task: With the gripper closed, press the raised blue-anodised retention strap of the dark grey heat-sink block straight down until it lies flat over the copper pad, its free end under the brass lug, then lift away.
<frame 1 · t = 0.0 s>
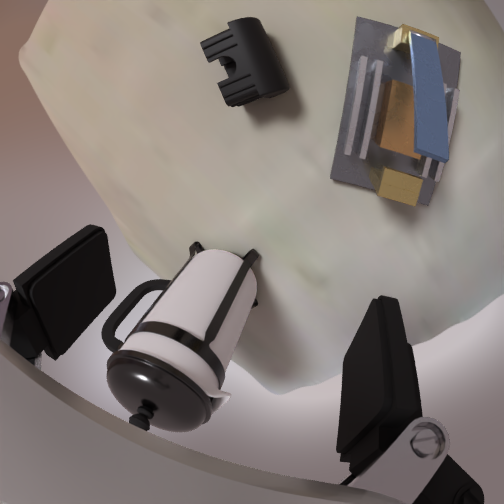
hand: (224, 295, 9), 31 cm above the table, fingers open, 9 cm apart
end cap: (254, 66, 32), on the table
sink block: (398, 109, 30), on the table
coffee press: (219, 274, 49), on the table
strap: (428, 84, 19), point 11 cm above the table, hinge at 35.0°
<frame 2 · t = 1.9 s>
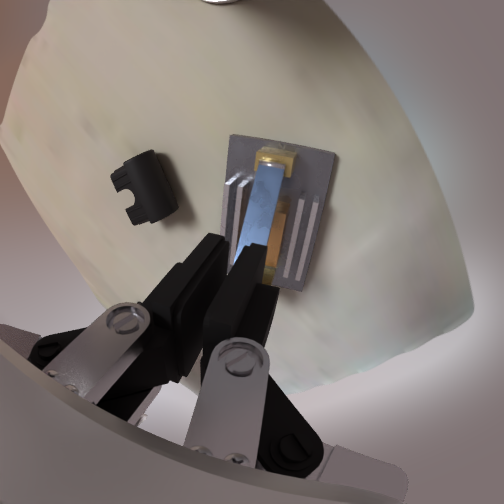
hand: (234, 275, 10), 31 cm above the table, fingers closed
end cap: (158, 181, 45), on the table
sink block: (271, 215, 43), on the table
strap: (257, 226, 32), point 11 cm above the table, hinge at 35.0°
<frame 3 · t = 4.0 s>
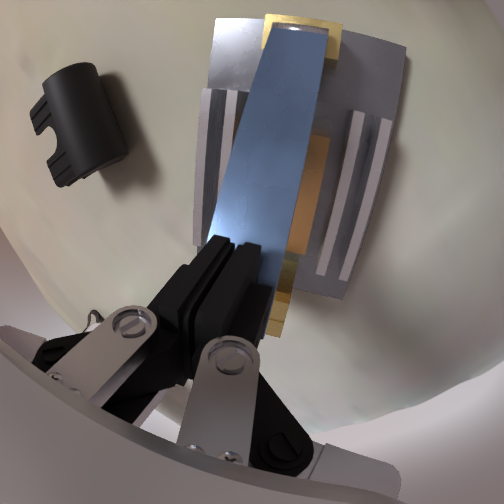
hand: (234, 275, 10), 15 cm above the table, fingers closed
end cap: (104, 118, 24), on the table
sink block: (291, 159, 22), on the table
strap: (272, 141, 12), point 11 cm above the table, hinge at 34.8°, touching gripper
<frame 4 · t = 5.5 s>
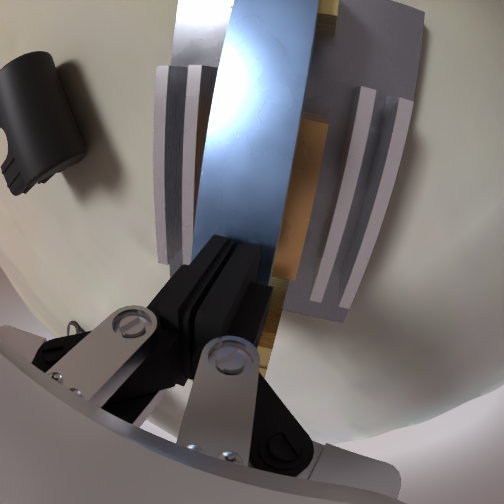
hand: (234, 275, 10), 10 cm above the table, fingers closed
end cap: (64, 113, 19), on the table
sink block: (279, 153, 17), on the table
strap: (250, 151, 10), point 8 cm above the table, hinge at 13.7°, touching gripper
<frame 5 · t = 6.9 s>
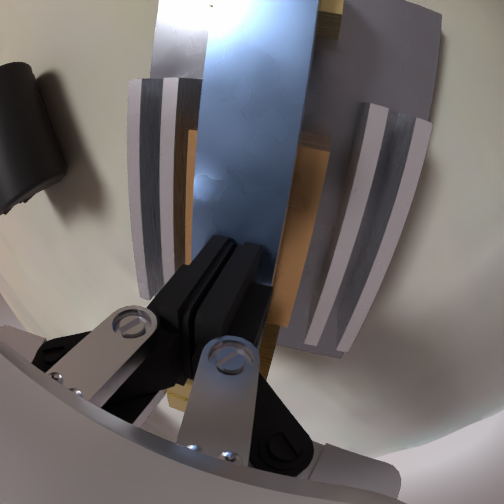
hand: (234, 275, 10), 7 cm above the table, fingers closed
end cap: (45, 127, 18), on the table
sink block: (273, 177, 16), on the table
strap: (242, 184, 9), point 7 cm above the table, hinge at 1.8°, touching gripper
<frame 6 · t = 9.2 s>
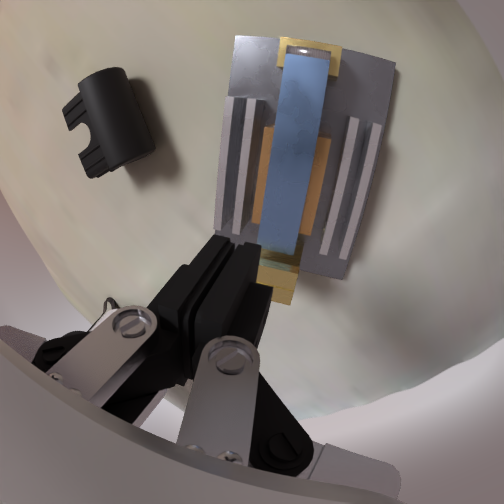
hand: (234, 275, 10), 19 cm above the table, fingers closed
end cap: (130, 118, 28), on the table
sink block: (298, 157, 26), on the table
strap: (293, 151, 20), point 7 cm above the table, hinge at 1.6°
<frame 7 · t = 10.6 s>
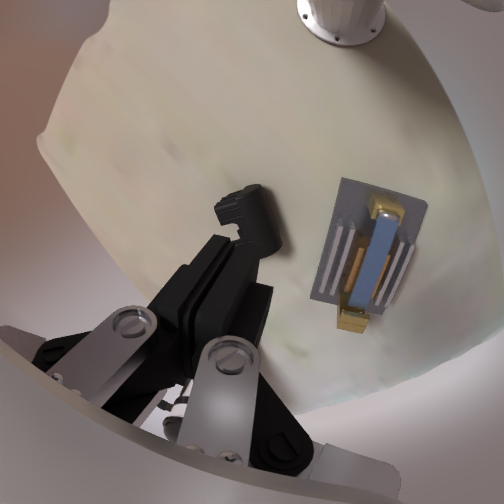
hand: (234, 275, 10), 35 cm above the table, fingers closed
end cap: (256, 213, 48), on the table
sink block: (365, 250, 46), on the table
coffee press: (229, 344, 65), on the table
strap: (373, 263, 39), point 7 cm above the table, hinge at 1.6°
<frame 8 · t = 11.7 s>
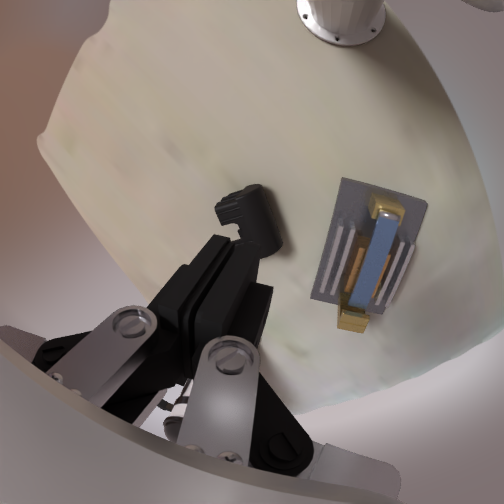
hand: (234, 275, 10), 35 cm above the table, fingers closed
end cap: (256, 213, 48), on the table
sink block: (366, 250, 46), on the table
coffee press: (229, 344, 65), on the table
strap: (373, 263, 39), point 7 cm above the table, hinge at 1.6°
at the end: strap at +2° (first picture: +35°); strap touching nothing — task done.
